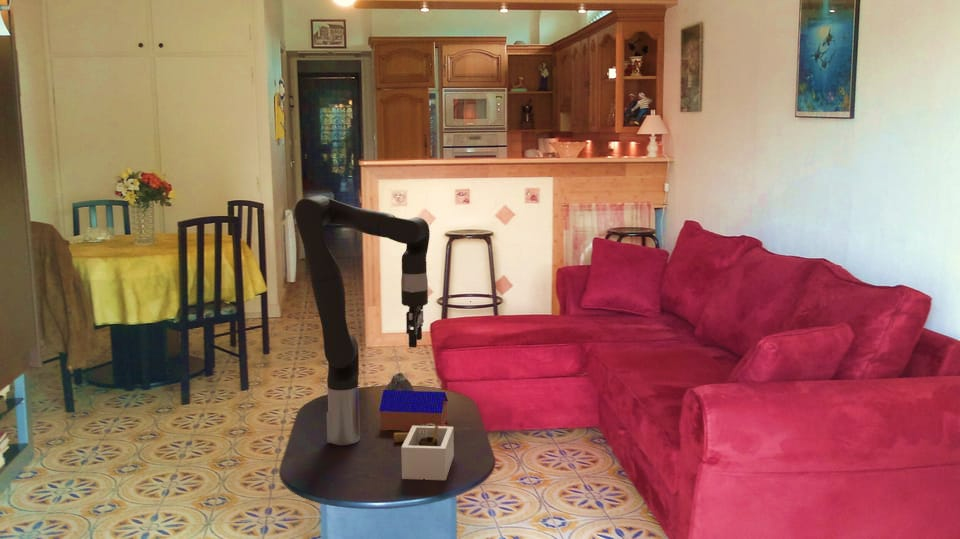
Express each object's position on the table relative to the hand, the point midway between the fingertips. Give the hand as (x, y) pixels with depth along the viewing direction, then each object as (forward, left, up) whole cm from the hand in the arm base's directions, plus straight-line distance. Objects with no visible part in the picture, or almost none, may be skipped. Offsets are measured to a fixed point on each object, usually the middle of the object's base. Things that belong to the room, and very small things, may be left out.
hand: (415, 343), depth 240 cm
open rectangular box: (+5, -10, -33) cm, 35 cm away
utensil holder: (+5, -10, -32) cm, 34 cm away
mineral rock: (-15, +49, -33) cm, 61 cm away
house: (-5, +23, -34) cm, 41 cm away
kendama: (0, +8, -34) cm, 34 cm away
